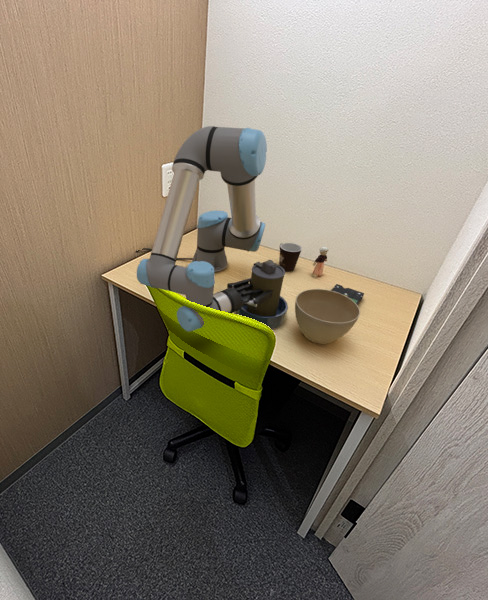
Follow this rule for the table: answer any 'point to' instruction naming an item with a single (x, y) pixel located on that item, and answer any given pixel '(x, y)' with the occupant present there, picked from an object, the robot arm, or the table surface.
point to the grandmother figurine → (320, 262)
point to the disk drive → (349, 293)
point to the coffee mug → (289, 256)
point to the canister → (267, 286)
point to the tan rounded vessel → (325, 314)
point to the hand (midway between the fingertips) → (277, 280)
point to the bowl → (271, 320)
